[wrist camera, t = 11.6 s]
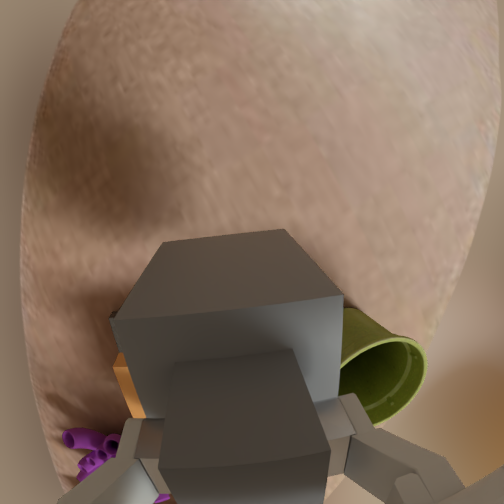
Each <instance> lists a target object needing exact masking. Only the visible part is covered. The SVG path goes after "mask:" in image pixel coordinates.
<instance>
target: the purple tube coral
mask: <svg viewBox="0 0 504 504" xmlns="http://www.w3.org/2000/svg"><path fill="white" fill-rule="evenodd" d="M62 439H63V442H64V444H65V445H66V446H67V447H68V448H71V449H76V448H86V449H91V450H93V451H92V452H91V453H89V454H87V455H86V456H85V457H83V458H82V459H81V460H80V461H79V463H78V467H79V468H80V469H81V471H80V472H79V474H78V475H77V479H78V480H79V481H80V482H81V481H83V480H84V479H85V478H86V477H88V476H89V475H90V474H91V473H93V472H94V471H95V470H96V469H97V468H99V467H100V466H101V465H102V464H104V463H105V462H106V461H107V460H108V459H110V458H115V457H116V453H117V450H118V446H119V442H120V439H121V435H119V434H110V435H108V436H106V435H104V434H102V433H99V432H97V431H94V430H91V429H86V428H72V429H68V430H65V431H64V432H63V434H62ZM168 499H170V497H169V494H159V496H158V498H157V499H156V500H155V501H154V503H159V502H162V501H165V500H168Z"/></svg>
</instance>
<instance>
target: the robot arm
mask: <svg viewBox="0 0 504 504" xmlns="http://www.w3.org/2000/svg"><path fill="white" fill-rule="evenodd" d="M313 404H314V406H315V409H316V411H317V414H318V417H319V419H320V422H321V424H322V427H323V430H324V432H325V435H326V438H327V440H328V443H329V445H330V448H331V455H330V463H329V470H328V476H333V475H338V474H342V473H344V475H346V476H347V477H348V478H350V479H351V480H353V481H354V482H355V483H357V484H358V485H359V486H361V487H362V488H364V489H365V490H367V491H368V492H369V493H371V494H372V495H374V496H375V497H377V498H378V499H380V500H381V501H383V502H384V503H385V504H504V465H502V466H501V467H499V468H498V469H496V470H495V471H493V472H492V473H490V474H488V475H487V476H485V477H484V478H482V479H480V480H479V481H477V482H475V483H474V484H472V485H470V486H469V487H467V488H465V486H464V485H463V483H462V482H461V480H460V479H459V477H458V476H457V475H456V473H455V471H454V470H453V468H452V467H451V465H450V464H449V462H448V461H447V460H446V458H445V457H443V456H441V455H439V454H436V453H434V452H431V451H429V450H427V449H425V448H422V447H420V446H418V445H416V444H413V443H411V442H409V441H407V440H405V439H402V438H400V437H398V436H396V435H394V434H391V433H390V432H388V431H385V430H383V429H381V428H378V429H375V428H374V426H373V424H372V422H371V421H370V419H369V417H368V415H367V414H366V412H365V410H364V408H363V406H362V405H361V403H360V401H359V399H358V398H357V396H356V394H354V393H351V394H346V395H342V396H338V397H334V398H329V399H325V400H320V401H315V402H313ZM164 422H165V418H128V419H127V420H126V422H125V425H124V428H123V432H122V435H121V439H120V442H119V446H118V450H117V453H116V457H115V458H110V459H108V460H107V461H106V462H105V463H104V464H102V465H101V466H100V467H99V468H97V469H96V470H95V471H94V472H93V473H91V474H90V475H89V476H88V477H86V478H85V479H84V480H83V481H81V482H80V483H79V484H78V485H76V486H75V487H74V488H72V489H71V490H70V491H69V492H67V493H66V494H65V495H63V496H62V497H61V498H60V499H58V502H57V504H153V503H154V501H155V500H156V499H157V498H158V496H159V494H171V492H170V490H169V488H168V487H167V485H166V483H165V481H164V479H163V477H162V476H161V474H160V472H159V470H158V463H159V456H160V449H161V442H162V435H163V429H164Z"/></svg>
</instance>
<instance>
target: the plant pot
mask: <svg viewBox="0 0 504 504" xmlns="http://www.w3.org/2000/svg"><path fill="white" fill-rule="evenodd" d="M426 372H427V357H426V353H425V351H424V349H423V348H422V346H421V345H420V344H419V343H418V342H416V341H415V340H413V339H411V338H409V337H405V336H398V335H396V334H392V333H391V332H389V331H388V330H387V329H385V328H384V327H382V326H381V325H379V324H378V323H377V322H375V321H374V320H373V319H371V318H370V317H369V316H367V315H366V314H364V313H363V312H361V311H360V310H358V309H354V308H343V328H342V348H341V364H340V378H339V391H338V396H342V395H346V394H351V393H354V394H356V396H357V398H358V399H359V401H360V403H361V405H362V406H363V408H364V410H365V412H366V414H367V415H368V417H369V419H370V421H371V422H372V424H373V426H376V425H379V424H381V423H382V422H385V421H387V420H389V419H390V418H392V417H393V416H395V415H396V414H398V413H399V412H400V411H401V410H402V409H404V408H405V407H406V406H407V405H408V404H409V403H410V402H411V401H412V399H413V398H414V397H415V395H416V394H417V393H418V391H419V389H420V388H421V386H422V384H423V382H424V379H425V376H426Z"/></svg>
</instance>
